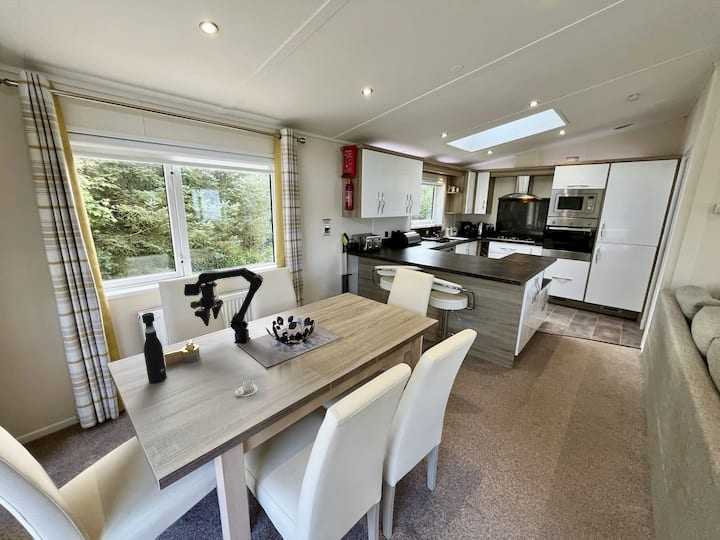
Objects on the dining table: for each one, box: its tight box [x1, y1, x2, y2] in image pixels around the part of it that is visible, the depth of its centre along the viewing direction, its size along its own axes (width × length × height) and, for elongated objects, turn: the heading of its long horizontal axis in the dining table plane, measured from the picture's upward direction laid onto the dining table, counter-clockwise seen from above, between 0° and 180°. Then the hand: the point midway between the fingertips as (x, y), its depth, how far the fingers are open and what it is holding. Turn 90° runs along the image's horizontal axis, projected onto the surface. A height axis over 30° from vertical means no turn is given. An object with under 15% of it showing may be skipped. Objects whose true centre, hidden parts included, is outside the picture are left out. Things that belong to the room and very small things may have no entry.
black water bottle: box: [141, 312, 168, 385], centre depth 120 cm, size 6×6×30 cm
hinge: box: [163, 338, 201, 367], centre depth 140 cm, size 12×16×6 cm
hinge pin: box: [185, 342, 194, 350], centre depth 139 cm, size 3×3×8 cm
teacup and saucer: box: [234, 379, 258, 397], centre depth 117 cm, size 9×8×4 cm
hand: (211, 322), depth 154 cm, fingers open, 9 cm apart
